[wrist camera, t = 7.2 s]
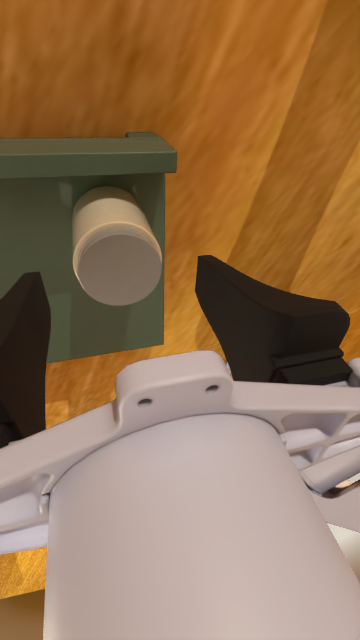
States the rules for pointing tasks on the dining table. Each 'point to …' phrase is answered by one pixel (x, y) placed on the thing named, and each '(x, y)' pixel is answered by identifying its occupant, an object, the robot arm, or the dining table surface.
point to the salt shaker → (114, 247)
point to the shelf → (56, 232)
